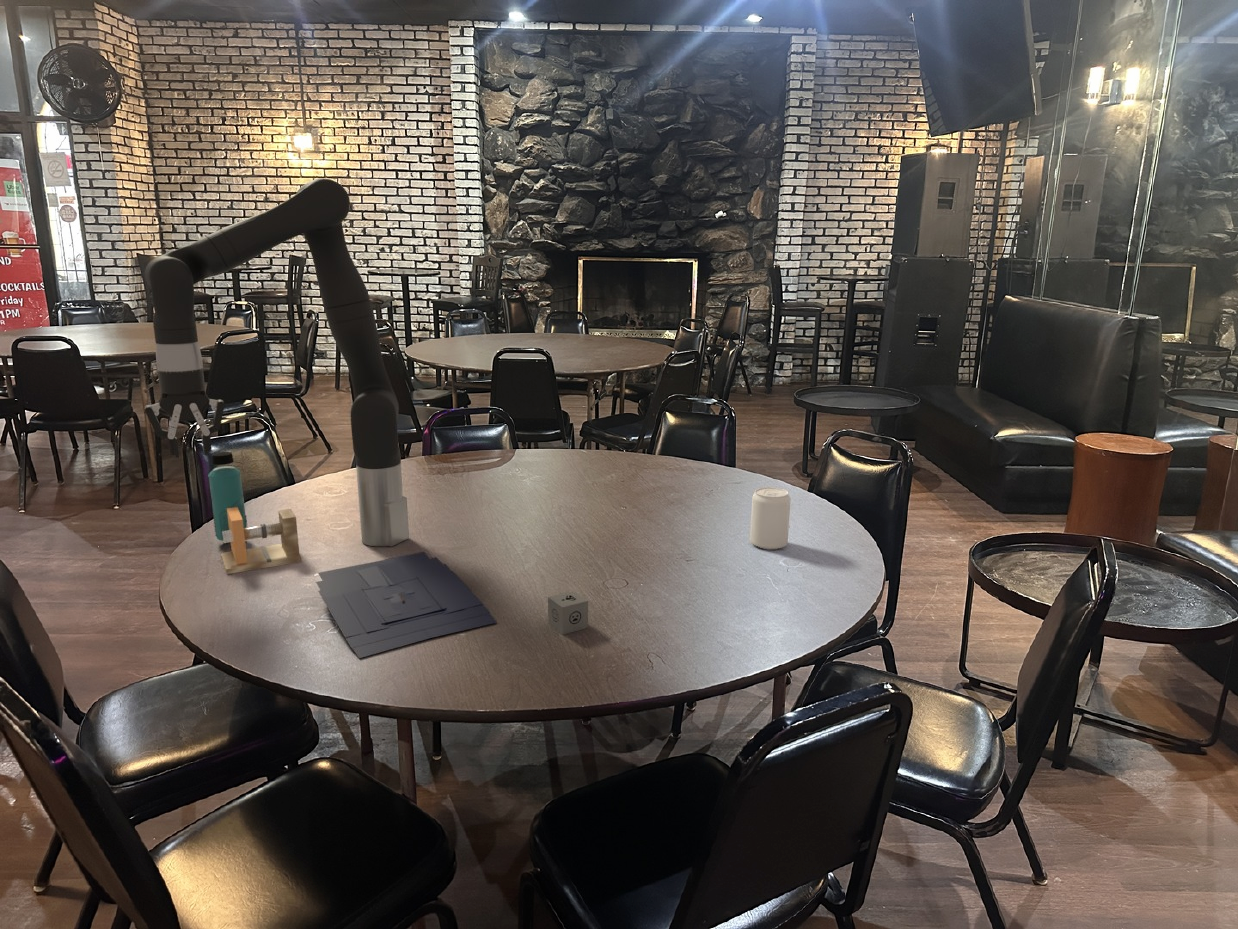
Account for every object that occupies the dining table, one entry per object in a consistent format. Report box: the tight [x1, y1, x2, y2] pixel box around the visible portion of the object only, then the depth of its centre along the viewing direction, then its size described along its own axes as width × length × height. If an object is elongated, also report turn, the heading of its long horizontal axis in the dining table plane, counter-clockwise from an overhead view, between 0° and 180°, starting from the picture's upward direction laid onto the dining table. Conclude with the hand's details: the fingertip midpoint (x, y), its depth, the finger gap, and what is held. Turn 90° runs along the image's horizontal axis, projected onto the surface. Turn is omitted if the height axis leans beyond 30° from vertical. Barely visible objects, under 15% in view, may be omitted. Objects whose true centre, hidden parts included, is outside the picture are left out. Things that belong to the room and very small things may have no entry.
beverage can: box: [749, 486, 791, 550], centre depth 182 cm, size 8×8×12 cm
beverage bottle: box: [207, 451, 248, 542], centre depth 179 cm, size 6×7×20 cm
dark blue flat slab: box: [315, 551, 498, 659], centre depth 150 cm, size 24×30×4 cm
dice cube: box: [547, 590, 589, 636], centre depth 143 cm, size 5×5×5 cm
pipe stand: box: [220, 508, 303, 575], centre depth 171 cm, size 14×10×9 cm
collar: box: [227, 507, 247, 564], centre depth 168 cm, size 2×9×9 cm, turn 30°
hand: (191, 455), depth 161 cm, fingers open, 4 cm apart
